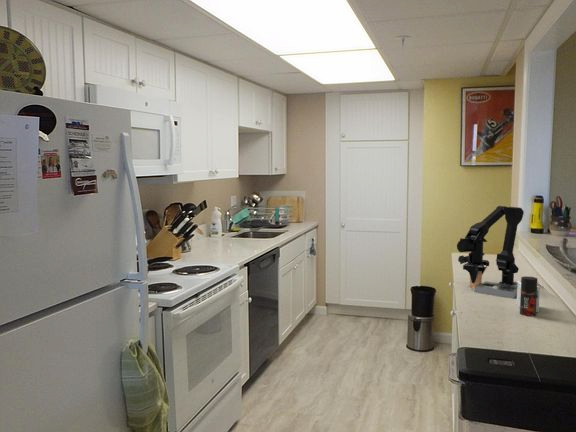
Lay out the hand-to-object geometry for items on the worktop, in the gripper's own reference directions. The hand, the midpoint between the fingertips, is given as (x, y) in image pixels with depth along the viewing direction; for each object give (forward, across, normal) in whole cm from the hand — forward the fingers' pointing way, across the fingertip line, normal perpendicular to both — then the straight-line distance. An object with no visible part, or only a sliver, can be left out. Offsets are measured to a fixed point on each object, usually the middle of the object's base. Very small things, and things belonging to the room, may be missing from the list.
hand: (475, 281), depth 256 cm
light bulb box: (+3, +24, +32) cm, 40 cm away
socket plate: (+2, +4, +13) cm, 14 cm away
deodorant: (+3, +33, +35) cm, 48 cm away
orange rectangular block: (+3, 0, 0) cm, 3 cm away
